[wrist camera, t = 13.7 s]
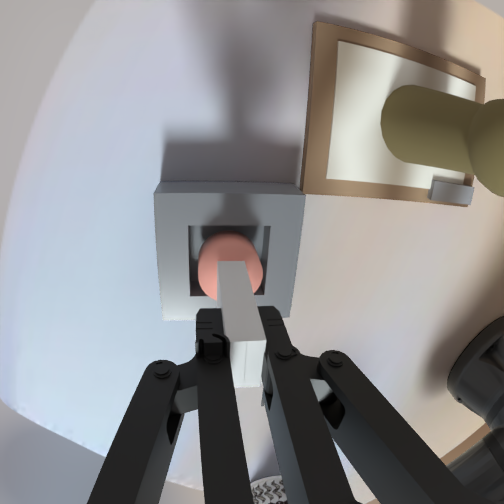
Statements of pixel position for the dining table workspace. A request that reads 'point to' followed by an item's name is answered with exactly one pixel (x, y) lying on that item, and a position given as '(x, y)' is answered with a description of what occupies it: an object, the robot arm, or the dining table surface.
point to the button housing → (223, 219)
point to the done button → (227, 259)
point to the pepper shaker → (446, 133)
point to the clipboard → (373, 118)
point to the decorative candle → (269, 491)
